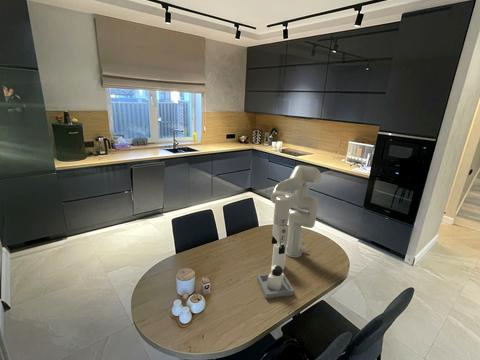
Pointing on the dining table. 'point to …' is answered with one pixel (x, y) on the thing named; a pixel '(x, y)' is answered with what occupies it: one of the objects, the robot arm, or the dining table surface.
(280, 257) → the cup
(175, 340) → the dining table surface
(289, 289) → the tray
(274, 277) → the medicine bottle
